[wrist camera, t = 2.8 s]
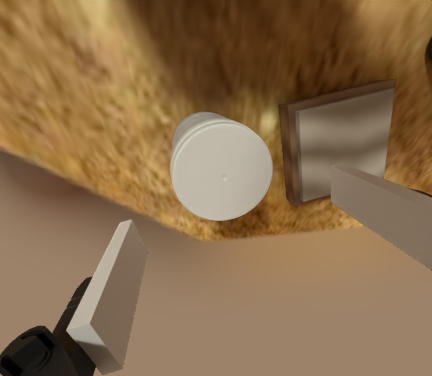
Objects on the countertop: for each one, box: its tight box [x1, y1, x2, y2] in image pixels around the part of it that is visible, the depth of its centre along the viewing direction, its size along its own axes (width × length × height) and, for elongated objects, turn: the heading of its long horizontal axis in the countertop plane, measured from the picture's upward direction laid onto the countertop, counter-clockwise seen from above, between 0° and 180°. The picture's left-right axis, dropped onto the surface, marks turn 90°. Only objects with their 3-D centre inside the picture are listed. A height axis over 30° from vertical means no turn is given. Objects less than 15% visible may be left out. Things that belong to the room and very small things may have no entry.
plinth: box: [279, 79, 396, 206], centre depth 33 cm, size 16×16×4 cm
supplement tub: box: [170, 112, 273, 221], centre depth 25 cm, size 10×10×15 cm
